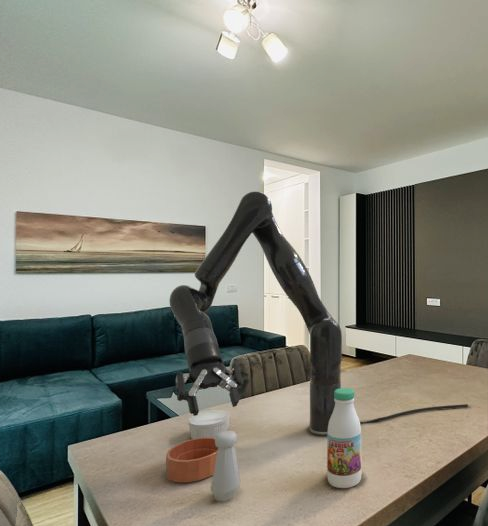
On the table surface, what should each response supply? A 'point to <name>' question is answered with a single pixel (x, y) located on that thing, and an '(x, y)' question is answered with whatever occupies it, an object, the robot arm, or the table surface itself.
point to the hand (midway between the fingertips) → (216, 409)
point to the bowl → (191, 460)
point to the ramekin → (208, 423)
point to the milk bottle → (344, 442)
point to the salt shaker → (225, 467)
